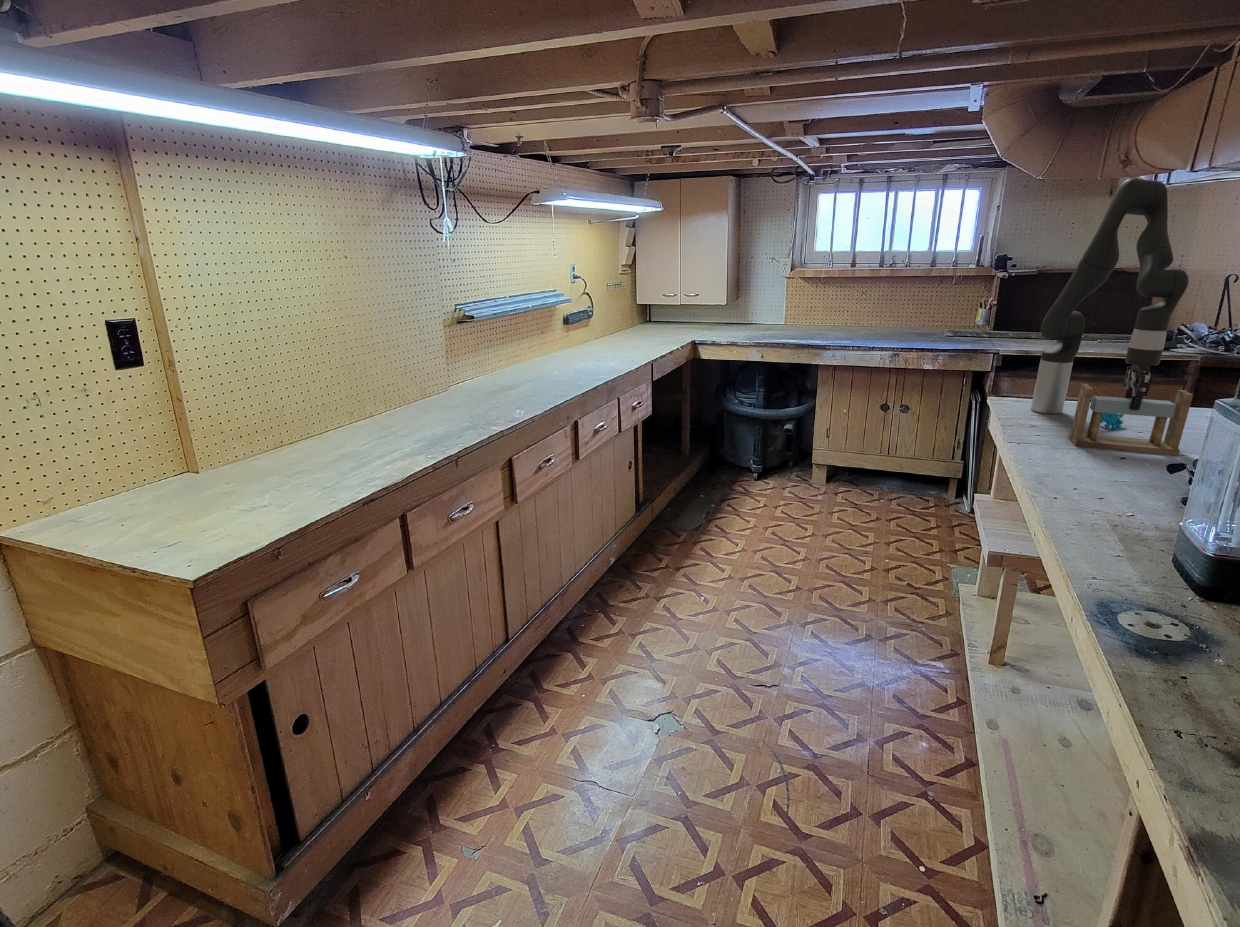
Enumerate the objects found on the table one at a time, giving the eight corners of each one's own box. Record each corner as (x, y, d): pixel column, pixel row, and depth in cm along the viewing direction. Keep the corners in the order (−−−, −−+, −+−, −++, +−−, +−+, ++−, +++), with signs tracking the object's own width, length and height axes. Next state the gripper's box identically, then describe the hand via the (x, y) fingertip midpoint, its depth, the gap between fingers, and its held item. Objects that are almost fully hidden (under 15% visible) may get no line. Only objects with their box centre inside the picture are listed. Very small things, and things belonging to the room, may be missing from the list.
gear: (1104, 426, 202) (1091, 398, 206) (1087, 436, 207) (1075, 408, 211) (1132, 429, 205) (1119, 401, 209) (1115, 438, 210) (1103, 411, 214)
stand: (1068, 437, 197) (1080, 382, 192) (1166, 446, 189) (1182, 389, 183) (1075, 446, 189) (1088, 389, 184) (1178, 455, 181) (1195, 396, 175)
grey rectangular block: (1165, 413, 185) (1169, 400, 184) (1172, 417, 180) (1175, 404, 179) (1089, 408, 191) (1092, 395, 190) (1094, 412, 187) (1097, 399, 186)
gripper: (1172, 351, 172) (1155, 414, 178) (1153, 343, 185) (1138, 402, 190) (1137, 349, 175) (1122, 412, 180) (1121, 341, 187) (1107, 400, 193)
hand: (1130, 407), depth 185 cm, fingers open, 5 cm apart
